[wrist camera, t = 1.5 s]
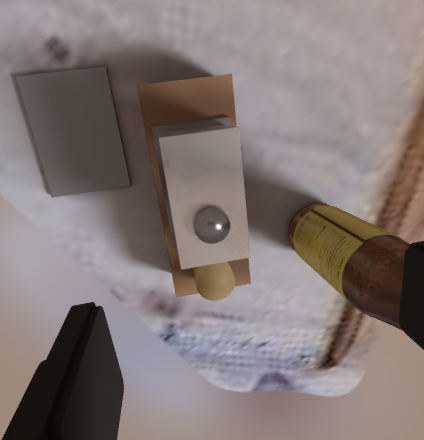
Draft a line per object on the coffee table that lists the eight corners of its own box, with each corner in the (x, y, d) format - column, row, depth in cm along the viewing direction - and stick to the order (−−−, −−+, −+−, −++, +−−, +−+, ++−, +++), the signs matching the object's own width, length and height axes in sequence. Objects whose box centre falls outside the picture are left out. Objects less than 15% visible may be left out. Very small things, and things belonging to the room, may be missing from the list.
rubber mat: (18, 77, 26) (15, 76, 25) (106, 67, 26) (105, 66, 26) (53, 196, 29) (51, 197, 28) (131, 184, 30) (130, 185, 29)
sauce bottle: (297, 264, 35) (451, 437, 16) (277, 217, 33) (426, 354, 14) (350, 237, 35) (566, 380, 16) (333, 188, 33) (559, 288, 14)
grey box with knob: (159, 133, 24) (158, 138, 19) (224, 124, 24) (241, 127, 19) (177, 242, 27) (181, 273, 22) (235, 232, 27) (252, 261, 22)
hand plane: (141, 89, 27) (133, 81, 20) (221, 79, 28) (240, 68, 21) (174, 273, 33) (177, 317, 26) (239, 262, 34) (259, 301, 27)
